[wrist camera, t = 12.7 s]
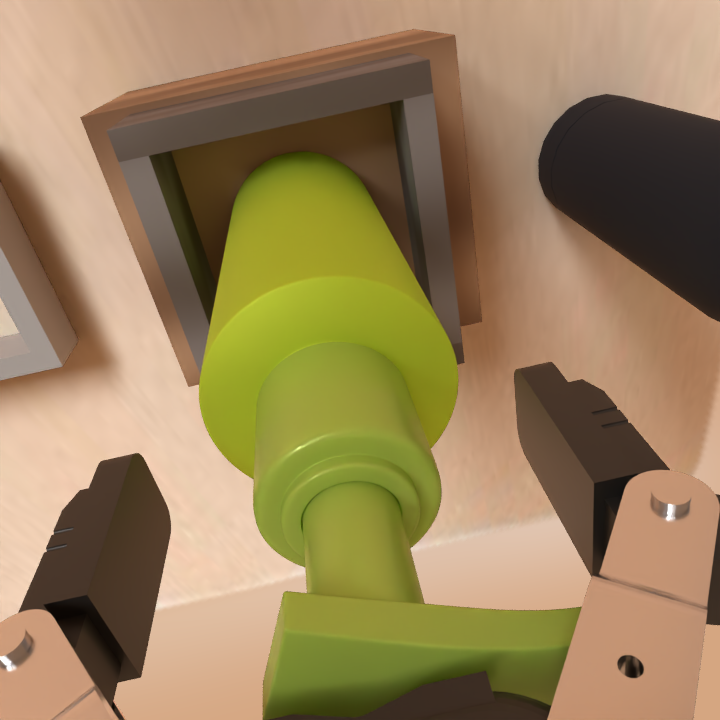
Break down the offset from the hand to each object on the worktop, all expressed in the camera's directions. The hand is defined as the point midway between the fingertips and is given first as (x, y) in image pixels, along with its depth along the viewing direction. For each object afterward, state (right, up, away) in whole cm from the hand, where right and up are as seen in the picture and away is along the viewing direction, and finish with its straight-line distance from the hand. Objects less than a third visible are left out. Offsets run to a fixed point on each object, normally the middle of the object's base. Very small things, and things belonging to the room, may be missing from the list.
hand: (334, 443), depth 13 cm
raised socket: (-3, +11, +19) cm, 22 cm away
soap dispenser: (-1, +7, +12) cm, 14 cm away
